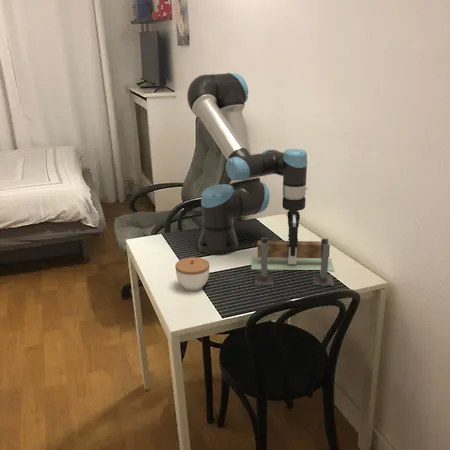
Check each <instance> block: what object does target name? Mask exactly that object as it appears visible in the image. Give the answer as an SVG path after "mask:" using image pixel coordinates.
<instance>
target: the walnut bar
mask: <svg viewBox="0 0 450 450" xmlns="http://www.w3.org/2000/svg"><path fill="white" fill-rule="evenodd" d="M287 245H289V240H268V257H271V258H288V256H289V247H287ZM297 245H298V246H297V258H321V240H320V241H314V240H313V241H312V240H311V241H309V240H308V241H307V240H305V241H304V240H303V241H301V240H298V241H297ZM257 257H261V240H257Z"/></svg>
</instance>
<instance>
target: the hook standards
mask: <svg viewBox="0 0 450 450" xmlns="http://www.w3.org/2000/svg"><path fill="white" fill-rule="evenodd" d="M260 241H261V270H260V273H255V274H254V285H255V286H274V273H268V270H267V260H268V241H269V238H268V237H261V240H260ZM320 242H321V268H320V271H319V274H313V276H312V279H314V280H313V284H315V285H330V286H334V287H335V282H334V279H333V275H330V274H329V275H328V272H327V271H328V258H330V248H331V244H330V243H329V239H328V238H321V239H320Z"/></svg>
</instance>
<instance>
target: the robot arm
mask: <svg viewBox="0 0 450 450" xmlns="http://www.w3.org/2000/svg"><path fill="white" fill-rule="evenodd" d="M248 95H249V87H248V84H247V82H246V80H245V78H244V77H243V75H240V74H239V73H230V72H227V73H214V74H202V75H199V76H196V78H194V79H193V80H192V81H191V82H190V84H189V87H188V89H187V95H186V98H187V103H188V106H189V109H190V111H191V112H192V113H193V115H194V116H196V117H199V119H200V121H201V122H202V124H203V125H204V128H205V129H206V130H207V131H208V133H209V134H210V136H211V137H212V139H213V140H214V142H215V143H216V145H217V147H218V148H219V150H220V151H221V153H222V154H223V156H224V158H225V159H226V160H227V161H226V163H225V171H226V174H227V176H228V178H229V179H230V182H229V184H225V183H221V184H218V183H217V184H215V185H210V186H208V187H206V188H205V189H204V190H203V191H202V193H201V200H200V205H201V218H202V219H201V227H202V229H201V232H200V236H199V238H198V244H197V245H198V250H199V251H200V252H202V253H204V254H207V255H210V256H211V255H212V256H223V255H229V254H233V253H234V252H236V251H237V250H238V248H239V239H238V237H237V234H236V231H235V228H234V224H235V223H234V220H236V219H238V218H240V219H241V218H243V217H248V216H253V215H257V214H261V213H263V212H264V211H266V210H267V208H268V205H269V203H270V197H271V196H270V190H269V188H268V186H267V184H266V183H265V182H262V181H261V179H260V177H265V176H270V175H278V176H280V177H282V208H283V209H284V210H286V211H287V212H286V213H287V214H286V215H287V216H286V217H287V224H288V225H287V226H288V235H287V237H288V240H287V241H289V245H287V247H289V256H288V264H296V258H297V246H298V245H297V241H299V238H298V237H299V236H298V231H299V227H300V218H301V217H300V216H301V215H300V211H302V210H304V209H305V208H306V197H305V196H306V193H307V192H306V190H308V186H307V174H308V173H307V169H308V153H307V151H306V150H305V149H302V148H287V149H286V150H284V152H282V151H279V150H276V149H265V150H264V151H262V152H261V153H257V154H256V153H253V154H252V153H251V150H250V145H249V140H248V134H247V131H246V126H245V119H244V115H243V110H244V109H245V107H246V104H245V103H246V102H247V101H248V98H249V96H248Z"/></svg>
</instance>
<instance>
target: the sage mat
mask: <svg viewBox="0 0 450 450" xmlns="http://www.w3.org/2000/svg"><path fill="white" fill-rule="evenodd" d="M333 264H334V263H333V261H332V258H330V257H328V271H334V272H335V268H334V265H333ZM250 265H251V266H250V270H252V271H261V257H258V256H251V264H250ZM320 268H321V258H296V264H288V258H271V257H268V260H267V271H283V270H320Z"/></svg>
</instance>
